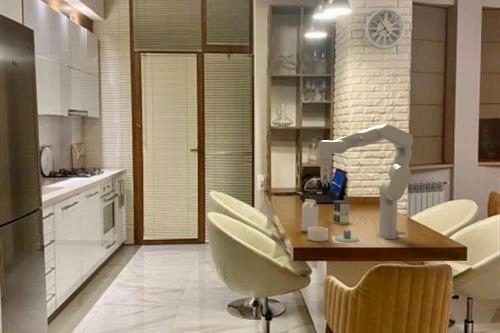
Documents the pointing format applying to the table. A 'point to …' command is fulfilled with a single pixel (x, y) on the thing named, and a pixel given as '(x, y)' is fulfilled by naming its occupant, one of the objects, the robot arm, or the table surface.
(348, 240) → the lid
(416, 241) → the table surface
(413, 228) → the table surface
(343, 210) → the coffee can
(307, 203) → the milk carton
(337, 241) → the mat
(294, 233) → the table surface
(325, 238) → the bowl
